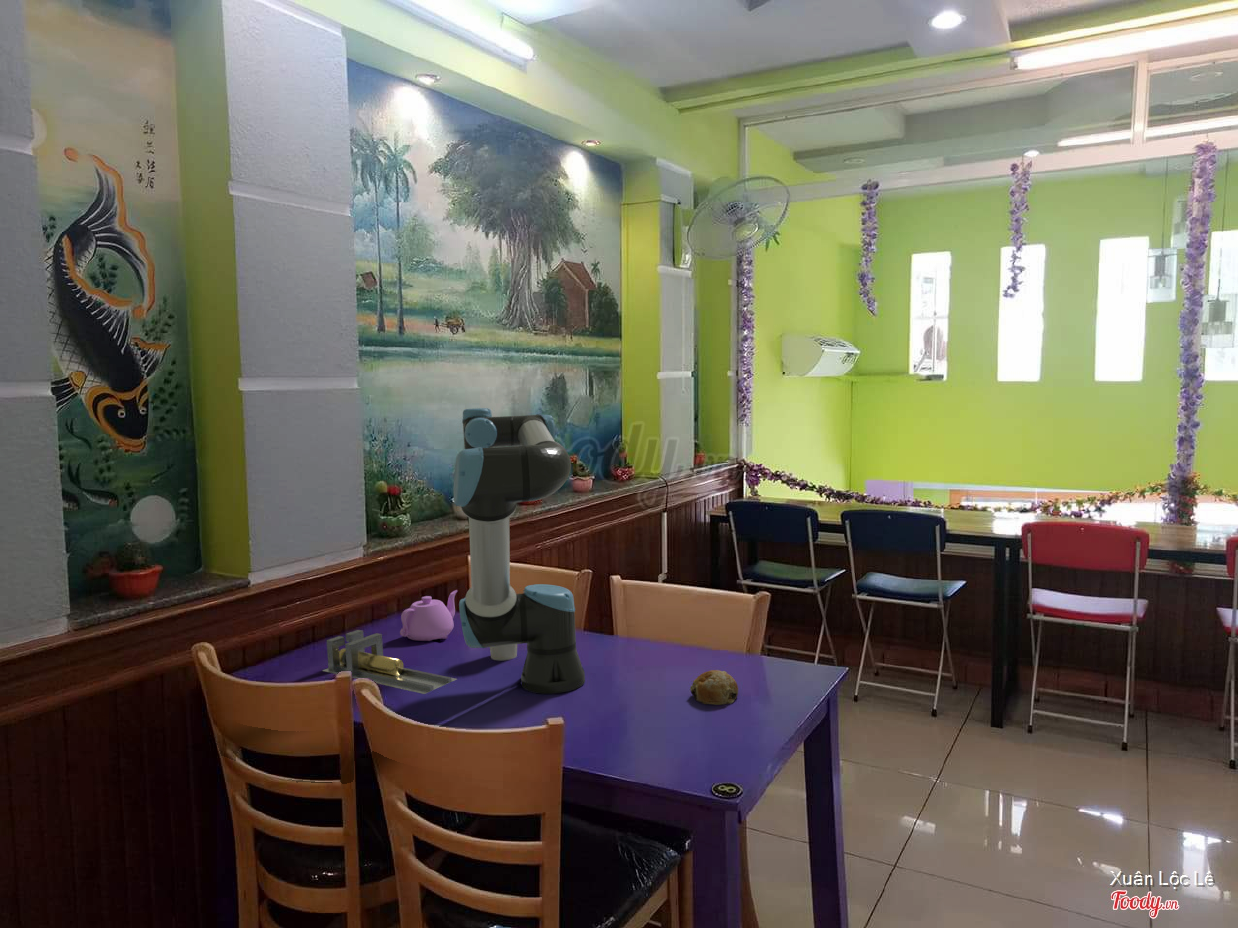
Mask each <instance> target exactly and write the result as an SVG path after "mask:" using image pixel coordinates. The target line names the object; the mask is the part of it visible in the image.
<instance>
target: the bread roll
mask: <svg viewBox="0 0 1238 928" xmlns="http://www.w3.org/2000/svg"><path fill="white" fill-rule="evenodd" d="M689 690H690V693H691V694H692V697H693V698H694V700H695V701H696V702H699V703H701V704H703V705H712V706H717V705H718V706H723V705H727V704H729V705H731V704H733V703H734V702H735V700H736V699H737V697H738V695H739V686H738V683H737V681H736V680H735V679H734V677H733V676H732V675H730V674H729V673H728V672H727V671H725V670H720V669H711V670H707V671H704V672H702V673H701V674H700V675H698V676H697V677H696V678H695V679H694V680H693V681H692V684H691V686H690V689H689Z"/></svg>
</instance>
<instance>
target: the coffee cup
mask: <svg viewBox="0 0 1238 928" xmlns="http://www.w3.org/2000/svg"><path fill="white" fill-rule="evenodd" d="M489 650H490V651H489V652H490V658H491V660H494V661H509V660H513V659H515V658H517V657H518V656H517V654H518V644H514V645H505V646H496V647H489Z"/></svg>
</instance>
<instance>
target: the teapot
mask: <svg viewBox="0 0 1238 928" xmlns="http://www.w3.org/2000/svg"><path fill="white" fill-rule="evenodd" d="M457 593H458V589H455V590H453V591H452V592H450V594H449V596H448V600H447V605H445V603H444V602H443V601H442V600H439V599H432V596H431V595H425V596H422V597H421V600H417V601H414V602H413V603H412V604H411V605H410V606H409V608H406V609H405V610H404V611H402V613H401V616H400V619H401V623H402V628H401V629H400V631H399V634H400V636H401V637H407V638H408V639H410V640H412V641H416V642H417V641H419V642H420V641H422V642H432V641H433V640H438V639H439V640H446V639H448V635H449V634H450V633H451V632H452V631H453V629H454V623H455V622H454V620H453V619H454V617H455V613H456V607H455V605H456V604H455V596H456V594H457Z"/></svg>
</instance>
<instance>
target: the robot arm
mask: <svg viewBox="0 0 1238 928" xmlns="http://www.w3.org/2000/svg"><path fill="white" fill-rule="evenodd" d="M492 415H493V414H492V410H491V408H489V407H477V408H476V407H475V408H465V409H464V410H463V411H462V429H463V431H462V432H463V433H462V434H463V444H464V449H462V450H460V451H459V452H458V453H457V455H456V458H455V463H454V470H453V471H454V472H453V492H452V493H453V504H454V505H455V506H456V507H460V508H461V511H462V513H463V515H465V516H466V519H467V523H468V529H469V531H468V532H469V556H470V557H469V558H470V579H471V580H470V581H471V582H470V583H471V585H470V586H471V587H470V588H469V589H468V590H467V592H466V594H465V597H464V598H461V599H460V600H459V603H458V606H459V607H458V608H459V618H460V622H461V629H462V634H463V638H464V642H465V644H466V646H467V647H468V648H471V649H479V648H481V649H486V648H490V647H496V646H505V645H514V644H517V645H519V644H520V645H522V644H526V650H527V651H526V652H527V653H526V657H525V660H524V665H523V668H522V672H521V675H520V676H521V677H520V679H521V681H520V682H521V683H520V684H521V687H522V688H523V689H524V690H525V691H528V692H530V693H536V694H545V695H549V694H562V693H566V692H570V691H573V690H577V689H579V688H580V687H582V686H583V685H584V684H585V682H586V678H585V677H586V673H585V670H584V668H583V665H582V662H581V659H580V656H579V653H578V651H577V641H576V639H577V635H576V617H575V616H576V615H575V612H576V607H575V600H574V594H573V593H572V591H571V590H569V589H568V588H566V587H563V586H559V585H555V584H547V583H546V584H545V583H544V584H543V583H539V584H538V583H537V584H535V583H534V584H529V585H526V586H525V587H524V590H523V592H522V593H516V591H515V589H514V588H513V587H512V586H511V584H510V583H511V582H510V581H511V580H510V579H511V578H510V576H511V575H510V574H511V573H510V572H511V568H510V567H511V566H510V565H511V559H510V558H511V555H510V551H511V550H510V546H511V544H510V517H512V515H513V514H514V513H515V512H516V510H517V506H518V503H524V502H535V501H538V500H543V499H545V498H548V497H550V496H552V495H553V494H554V493H556V492H557V491H558V490H560V489H561V487H563V485H565V483H566V482H567V480H568V479H569V477H570V473H571V468H572V462H571V457H570V455H569V454H568V453H569V452H568V451H567V450H566V449H565V447H564V446H563V445H562V444H560V443H559V442H556V441H555V437H556V431H555V421H554V418H553V416H552V415H550V414H540V413H537V414H531V415H530V414H529V415H528V414H527V415H514V416H513V415H511V416H508V415H507V416H492Z"/></svg>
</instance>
